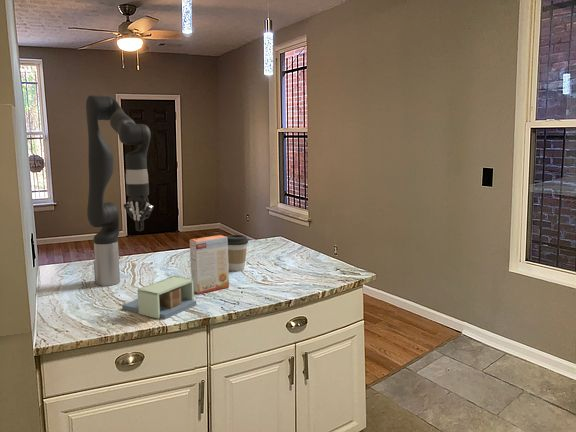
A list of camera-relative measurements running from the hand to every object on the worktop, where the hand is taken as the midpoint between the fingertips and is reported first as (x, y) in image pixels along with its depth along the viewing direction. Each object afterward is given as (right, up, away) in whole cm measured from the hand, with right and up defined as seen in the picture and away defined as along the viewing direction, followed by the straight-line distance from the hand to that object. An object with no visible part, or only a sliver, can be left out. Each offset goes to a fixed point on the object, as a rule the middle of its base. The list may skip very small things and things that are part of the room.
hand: (139, 230), depth 180 cm
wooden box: (+11, -26, -2) cm, 29 cm away
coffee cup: (+29, -19, +49) cm, 61 cm away
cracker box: (+22, -24, +21) cm, 39 cm away
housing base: (+7, -27, +1) cm, 28 cm away
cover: (+10, -27, -1) cm, 29 cm away
